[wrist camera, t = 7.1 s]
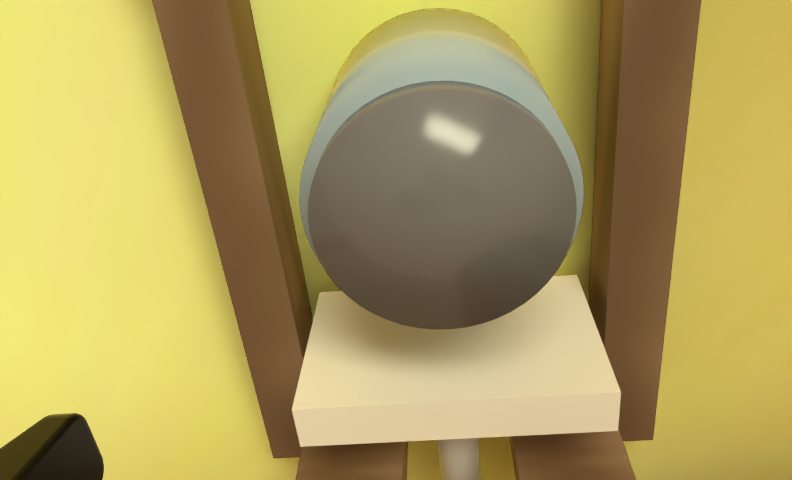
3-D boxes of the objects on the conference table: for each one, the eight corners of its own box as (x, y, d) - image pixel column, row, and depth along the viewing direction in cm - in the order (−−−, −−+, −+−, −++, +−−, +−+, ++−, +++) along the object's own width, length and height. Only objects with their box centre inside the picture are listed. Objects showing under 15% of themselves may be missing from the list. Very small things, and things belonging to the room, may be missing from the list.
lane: (801, -402, 13) (1000, -540, 8) (690, 391, 22) (757, 522, 18) (26, -292, 14) (-155, -361, 10) (233, 415, 23) (190, 543, 19)
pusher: (576, 274, 20) (621, 391, 15) (572, 435, 23) (607, 571, 18) (319, 292, 20) (291, 409, 16) (348, 446, 23) (331, 580, 19)
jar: (540, -3, 16) (596, 60, 11) (540, 201, 19) (585, 330, 14) (316, 19, 17) (268, 91, 12) (346, 216, 19) (319, 347, 14)
